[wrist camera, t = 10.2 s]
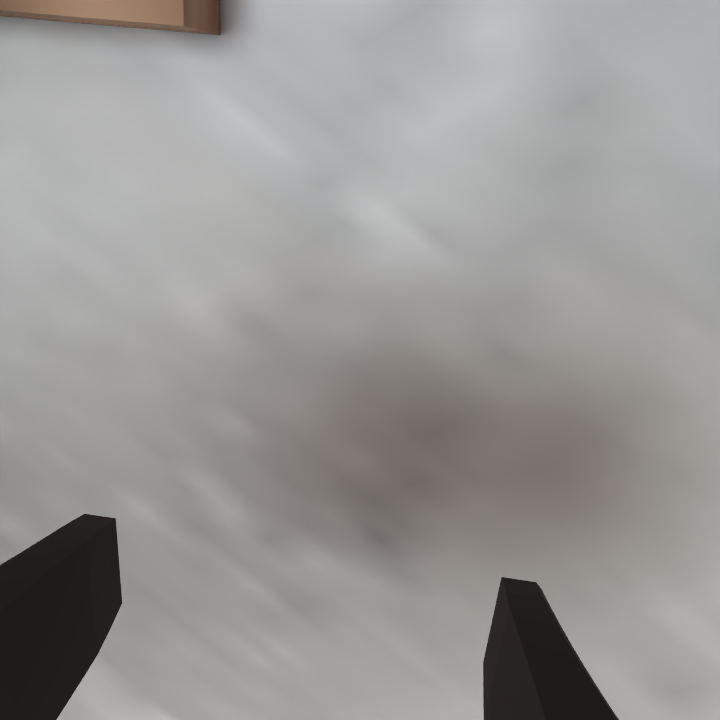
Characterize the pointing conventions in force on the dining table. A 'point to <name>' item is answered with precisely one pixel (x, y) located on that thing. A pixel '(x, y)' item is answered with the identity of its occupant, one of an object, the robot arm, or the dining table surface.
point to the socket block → (123, 13)
